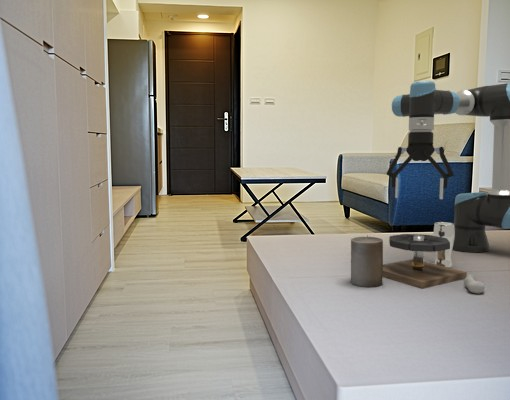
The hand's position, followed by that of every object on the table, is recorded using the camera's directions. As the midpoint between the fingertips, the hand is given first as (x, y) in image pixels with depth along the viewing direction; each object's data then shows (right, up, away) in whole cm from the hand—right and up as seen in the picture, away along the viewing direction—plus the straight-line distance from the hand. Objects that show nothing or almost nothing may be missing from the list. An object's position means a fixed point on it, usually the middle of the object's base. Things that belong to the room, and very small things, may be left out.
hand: (418, 198), depth 152 cm
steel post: (+1, -23, +2) cm, 23 cm away
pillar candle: (-18, -26, -5) cm, 32 cm away
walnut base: (+1, -25, +2) cm, 25 cm away
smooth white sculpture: (+11, -27, -14) cm, 33 cm away
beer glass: (+14, -24, +15) cm, 32 cm away
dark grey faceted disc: (0, -15, +1) cm, 15 cm away
